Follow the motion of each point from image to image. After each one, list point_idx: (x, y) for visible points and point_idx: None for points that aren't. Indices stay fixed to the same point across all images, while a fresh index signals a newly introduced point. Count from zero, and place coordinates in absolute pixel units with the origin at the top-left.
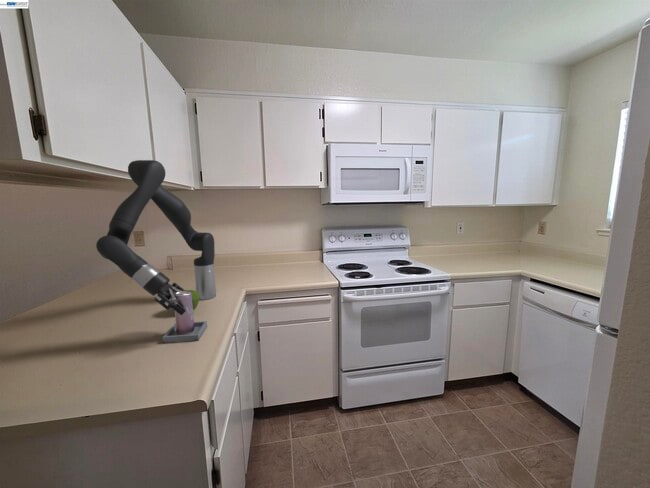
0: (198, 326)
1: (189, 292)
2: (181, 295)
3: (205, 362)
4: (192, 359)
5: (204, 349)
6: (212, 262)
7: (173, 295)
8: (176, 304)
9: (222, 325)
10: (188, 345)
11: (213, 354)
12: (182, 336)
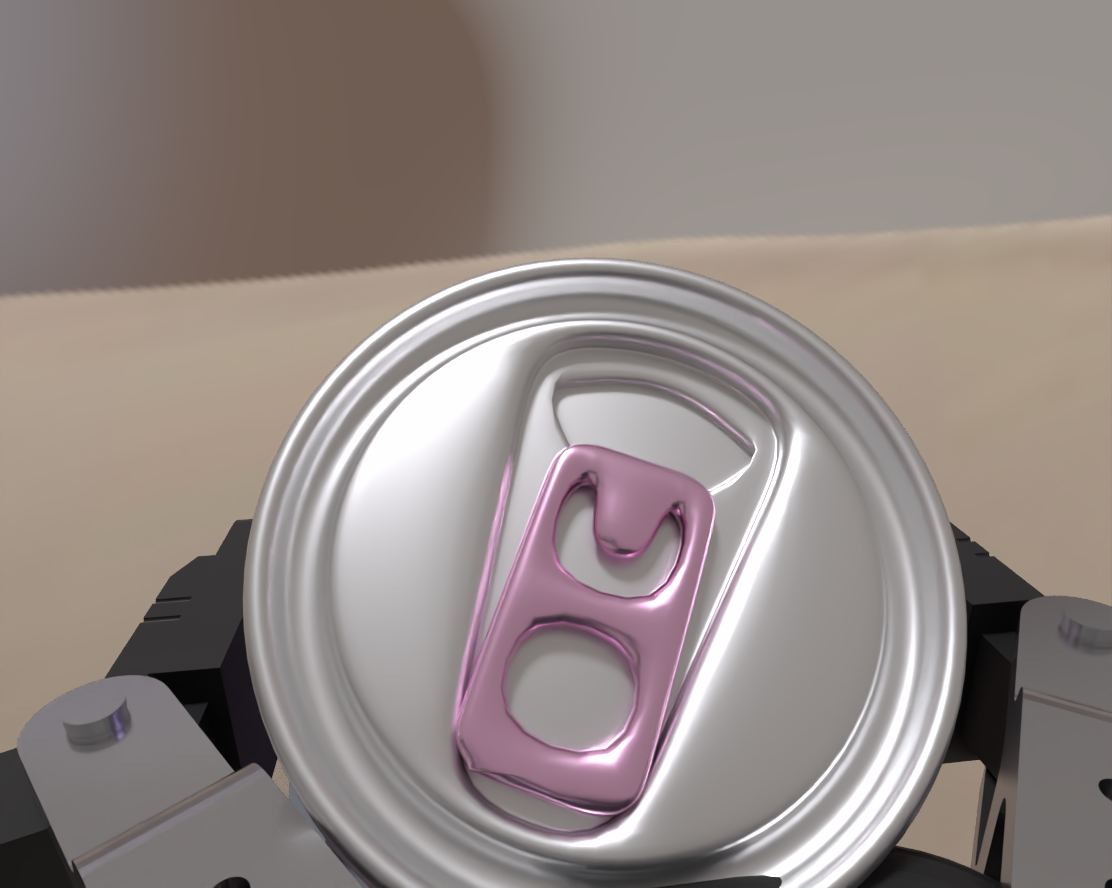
0: None
1: (414, 365)
2: (859, 492)
3: (1095, 288)
4: (1078, 407)
5: (893, 361)
6: None
7: (1071, 791)
8: (1054, 610)
9: (324, 336)
10: None
11: (966, 262)
12: None
